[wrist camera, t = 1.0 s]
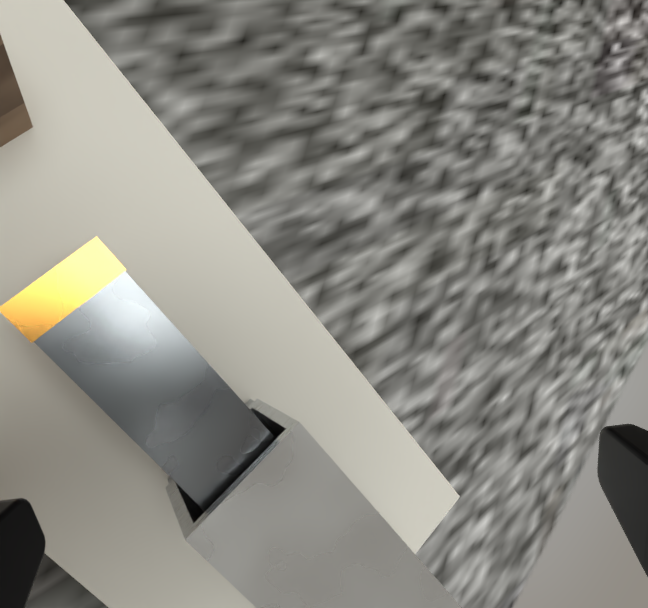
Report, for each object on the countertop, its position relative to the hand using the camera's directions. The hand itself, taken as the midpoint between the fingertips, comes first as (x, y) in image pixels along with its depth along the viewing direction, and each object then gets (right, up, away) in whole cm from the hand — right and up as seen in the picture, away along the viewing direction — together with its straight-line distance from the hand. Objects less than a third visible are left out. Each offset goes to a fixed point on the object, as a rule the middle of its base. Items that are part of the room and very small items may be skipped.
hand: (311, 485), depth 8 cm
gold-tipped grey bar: (-3, -3, +11) cm, 12 cm away
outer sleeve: (-2, -7, +15) cm, 17 cm away
